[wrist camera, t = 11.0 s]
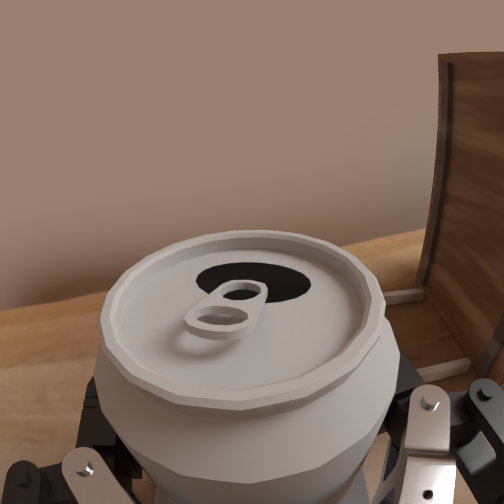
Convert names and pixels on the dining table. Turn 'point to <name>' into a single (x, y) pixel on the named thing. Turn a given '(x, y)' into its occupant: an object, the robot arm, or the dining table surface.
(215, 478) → the can
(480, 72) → the wooden stand
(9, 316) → the dining table surface
